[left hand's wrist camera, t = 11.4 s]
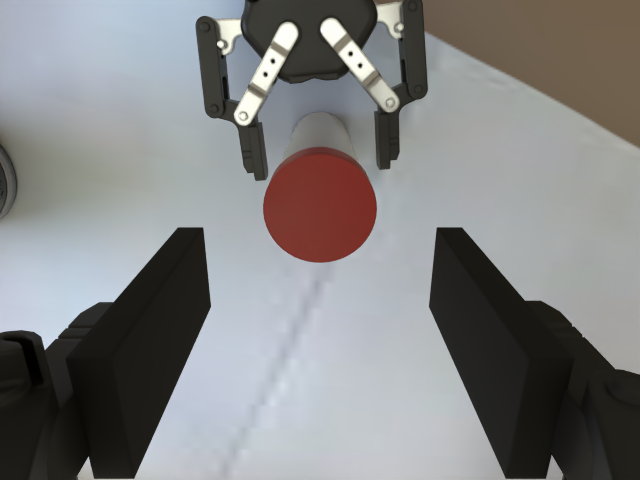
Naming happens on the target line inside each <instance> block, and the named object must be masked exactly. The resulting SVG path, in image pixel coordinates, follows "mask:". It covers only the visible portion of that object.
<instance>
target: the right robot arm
mask: <svg viewBox="0 0 640 480" xmlns="http://www.w3.org/2000/svg"><path fill="white" fill-rule="evenodd" d="M377 22H378V23H382V24H383V25H384V26H385V27H386V29H387V33H388V35H389V36H390V37H391V38H393V39H398V42H399V54H400V67H401V80H402V83H401V84H399V85H396V86H394V87H392V88H391V87H390V86H389V85H388V84H387V83H386V81H385V80H384V79H383V78H382V76H381V75H380V73H379V72H378V70H377V69H376V68H375V67H374V65H373V64H372V63H371V62H370V60H369V59H368V58H367V57H366V56H365V54H364V53H363V52H362V51H361V50H362V49H363V47H364V45H365V44H366V42H367V40H368V38H369V37H370V35H371V33H372V32H373V30H374V28H375V26H376V24H377ZM196 35H197V44H198V52H199V61H200V70H201V79H202V88H203V96H204V105H205V111H206V113H207V115H208V116H209V117H211V118H220V119H224V120H228V121H231V122H233V123H234V124H235V125H236V126H237V128H238V131H239V138H240V145H241V151H242V157H243V165H244V168H245V169H246V171H247V173H254V176H255V180H256V181H261V180H266V179H267V177H268V166H267V158H266V150H265V143H264V135H263V127H262V122H259V123H258V113H259V111H260V110H261V108H262V106H263V104H264V102H265V101H266V99H267V97H268V96H269V94H270V92H271V91H272V89H273V87H274V86H275V84H276V82H277V80H278V78H279V79H281V80H283V81H285V82H288V83H290V84H293V83H302V82H305V81H307V80H310V79H313V78H316V79H322V80H336V79H338V78H341V77H342V76H344V75H345V74H347V73H348V72H350V73H351V74H352V75H353V76H354V78H355V79H356V80H357V81H358V82H359V84H360V85H361V86H362V87H363V88H364V89H365V90H366V92H367V93H368V94H369V95H370V97H371V98H372V99H373V100H374V101H375V103H376V104H377V108H378V111H375V112H374V115H375V138H376V160H377V166H378V168H379V170H382V169H390V160H397V158H398V155H399V152H400V151H399V112H400V110H401V108H402V107H403V106H404V105H406V104H408V103H410V102H412V101H414V100H417V99H421V98H423V97H424V96H425V95H426V94H427V90H428V85H427V69H426V52H425V35H424V19H423V4H422V0H403V1H399V2H393V3H386V4H380V5H375V4H374V2H373V0H245V8H244V12H243V15H242V17H241V18H236V19H214V18H211V17H207V16H202V17H200V18H199V19H198V20H197V22H196ZM242 35H243V37H244V38H245V40H246V41H247V42H248V43H249V44H250V46H251V47H252V48H253V49H254V50H255V51H256V53H257V54H258V55H259V56H260V57H261V58H262V61H261V63H260V65H259V66H258V68H257V70H256V72H255V74H254V76H253V77H252V79H251V81H250V83H249V85H248V88H247V90H246V92H245V94H244V96H243V98H242V99H241V101H240V102H239V101H235V100H231V99H230V96H229V85H228V74H227V64H226V55H230V54H231V53H232V52H233V51H234V49H235V42H236V40H237V38H238V37H240V36H242ZM15 194H16V179H15V174H14V170H13V167H12V165H11V162H10V160H9V158H8V157H7V155H6V153H5V152H4V150H3V149H2V148H1V146H0V219H1V218H2V217H3V216H4V215H5V214H6V213H7V212H8V211H9V209H10V208H11V206H12V204H13V202H14V199H15Z"/></svg>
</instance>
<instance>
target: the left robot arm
mask: <svg viewBox="0 0 640 480" xmlns="http://www.w3.org/2000/svg"><path fill="white" fill-rule="evenodd" d="M210 308H211V302H210V292H209V282H208V272H207V261H206V251H205V241H204V231H203V228H177V229H176V231H175V232H174V233H173V234H172V235H171V236H170V238H169V239H168V240H167V241H166V242H165V243H164V244H163V246H162V247H161V248H160V249H159V250H158V251H157V253H156V254H155V255H154V256H153V257H152V258H151V260H150V261H149V262H148V263H147V264H146V265H145V267H144V268H143V269H142V270H141V271H140V272H139V274H138V275H137V276H136V277H135V278H134V279H133V280H132V282H131V283H130V284H129V285H128V286H127V287H126V289H125V290H124V291H123V292H122V293H121V294H120V296H119V297H118V298H117V299H116V300H115V301H114V302H99V303H97V304H96V305H94V306H92V307H90V308H89V309H87V310H85V311H83V312H82V313H80V314H79V315H78V316H77V317H76V318H75V319H74V321H73V322H72V323H71V324H70V325H69V326H68V328H66V329H65V330H64V331H63V332H62V333H61V334H60V335H59V336H58V339H55V340H54V341H53V342H52V344H51V345H50V346H49V347H48V348H47V349H46V350H44V346H43V342H42V338H41V336H39V335H38V334H36V333H35V332H30V331H23V330H19V331H7V332H2V333H0V480H78V477H77V475H78V473H79V472H80V470H81V468H82V467H83V465H84V463H85V461H86V460H87V458H88V456H89V459H90V463H91V467H92V472H93V476H94V479H134V478H135V475H136V473H137V471H138V469H139V466H140V464H141V462H142V460H143V458H144V455H145V453H146V451H147V449H148V446H149V444H150V442H151V440H152V437H153V435H154V433H155V431H156V428H157V426H158V424H159V422H160V419H161V417H162V415H163V413H164V411H165V408H166V406H167V404H168V402H169V399H170V397H171V395H172V393H173V390H174V388H175V386H176V384H177V381H178V379H179V377H180V375H181V373H182V370H183V368H184V366H185V364H186V361H187V359H188V357H189V355H190V352H191V350H192V348H193V346H194V343H195V341H196V339H197V337H198V335H199V332H200V330H201V328H202V326H203V323H204V321H205V319H206V317H207V314H208V312H209V310H210ZM429 308H430V310H431V312H432V314H433V317H434V319H435V321H436V323H437V326H438V328H439V330H440V332H441V335H442V337H443V339H444V341H445V343H446V346H447V348H448V350H449V352H450V355H451V357H452V359H453V361H454V364H455V366H456V368H457V370H458V373H459V375H460V377H461V379H462V381H463V384H464V386H465V388H466V390H467V393H468V395H469V397H470V399H471V402H472V404H473V406H474V408H475V411H476V413H477V415H478V417H479V420H480V422H481V424H482V426H483V428H484V431H485V433H486V435H487V437H488V440H489V442H490V444H491V446H492V449H493V451H494V453H495V455H496V458H497V460H498V462H499V464H500V466H501V469H502V471H503V473H504V475H505V478H506V479H546V476H547V472H548V467H549V463H550V459H551V455H552V456H553V457H554V459H555V461H556V462H557V464H558V466H559V468H560V469H561V471H562V473H563V477H562V480H640V375H639V374H635V373H632V372H628V371H625V370H618V369H615V368H614V367H613V366H612V365H611V364H610V363H609V362H608V361H607V360H606V359H605V358H604V357H603V356H602V355H601V354H600V353H599V352H598V351H597V350H596V349H595V348H594V347H593V346H592V344H591V343H590V342H589V341H588V340H587V339H586V338H585V337H582V334H581V333H580V332H579V331H578V330H577V329H576V328H575V327H572V324H571V323H570V322H569V321H568V320H567V319H566V318H565V316H564V315H563V314H562V313H561V312H560V311H558V310H556V309H554V308H553V307H551V306H549V305H547V304H546V303H544V302H542V301H525V300H524V299H523V298H522V297H521V296H520V294H519V293H518V292H517V291H516V290H515V289H514V287H513V286H512V285H511V284H510V283H509V282H508V280H507V279H506V278H505V277H504V276H503V275H502V274H501V272H500V271H499V270H498V269H497V268H496V267H495V265H494V264H493V263H492V262H491V261H490V260H489V258H488V257H487V256H486V255H485V254H484V253H483V251H482V250H481V249H480V248H479V247H478V246H477V244H476V243H475V242H474V241H473V240H472V239H471V238H470V236H469V235H468V234H467V233H466V232H465V231H464V229H463V228H437V231H436V241H435V251H434V261H433V272H432V282H431V292H430V302H429Z"/></svg>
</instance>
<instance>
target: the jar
mask: <svg viewBox="0 0 640 480" xmlns="http://www.w3.org/2000/svg"><path fill="white" fill-rule="evenodd" d="M311 147H328V148H333V149H337V150H340V151H342V152H344V153H346V154H348V155H349V156H351V157H352V158H353V159H355V160H356V161H357V162H358V159H357V157H356V154H355V152H354V149H353V147H352V144H351V141H350V139H349V136H348V134H347V131H346V129H345V127H344V125H343V123H342V122H341V121H340V120H339V119H338V118H337V117H335V116H334V115H332V114H329V113H326V112H314V113H311V114H308V115H306V116H305V117H303V118H302V119H301V120H300V121H299V122H298V123H297V125H296V127H295V129H294V131H293V134H292V136H291V139H290V141H289V144H288V147H287V149H286V152H285V154H284V157H283V159H282V162H283V161H284V160H285V159H286V158H288V157H289V156H291V155H292V154H294V153H296V152H298V151H300V150H303V149H307V148H311ZM282 162H281V163H282ZM358 163H359V162H358Z"/></svg>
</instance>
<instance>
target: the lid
mask: <svg viewBox="0 0 640 480" xmlns="http://www.w3.org/2000/svg"><path fill="white" fill-rule="evenodd" d="M376 212H377V204H376V197H375V193H374V190H373V188H372V185H371V183H370V180H369V178H368V176H367V174H366V172H365V171H364V169H363V168H362V166H361V165H360V164H359V163H358V162H357V161H356V160H355V159H353V158H352V157H351V156H349V155H348V154H346V153H344V152H342V151H340V150H337V149H333V148H328V147H311V148H307V149H303V150H300V151H298V152H296V153H294V154H292V155H291V156H289V157H288V158H286V159H285V160H284V161H283V162H282V163H281V164H280V165H279V167H278V168H277V169H276V171H275V172H274V174H273V176H272V178H271V181H270V183H269V186H268V188H267V190H266V193H265V197H264V204H263V213H264V220H265V223H266V226H267V229H268V231H269V233H270V235H271V236H272V238H273V239H274V241H275V242H276V243H277V244H278V245H279V246H280V247H281V248H282V249H283V250H284V251H286V252H287V253H289V254H290V255H292V256H294V257H296V258H299V259H301V260H305V261H309V262H320V263H322V262H331V261H335V260H338V259H341V258H344V257H346V256H348V255H350V254H351V253H353V252H354V251H356V250H357V249H358V248H359V247H360V246H361V245H362V244H363V243H364V242H365V241H366V239H367V238H368V236H369V235H370V233H371V231H372V229H373V226H374V223H375V219H376Z"/></svg>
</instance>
